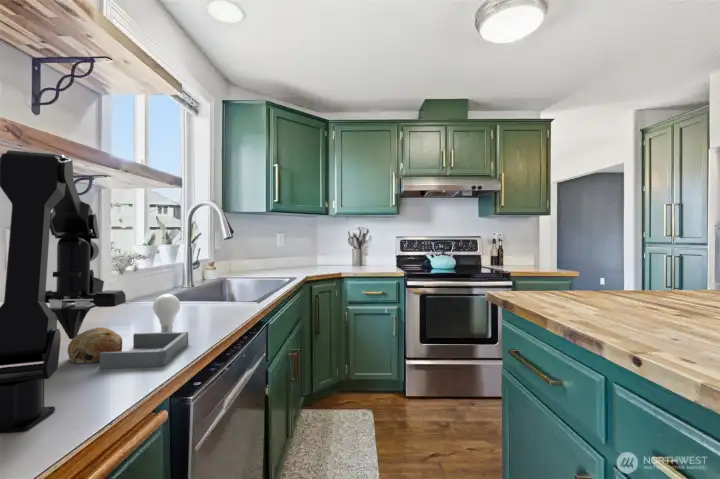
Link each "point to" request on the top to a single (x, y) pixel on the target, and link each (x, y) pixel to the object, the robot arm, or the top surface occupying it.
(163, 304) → the lightbulb
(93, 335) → the bread roll
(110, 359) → the grey u-shaped frame
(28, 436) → the top surface
